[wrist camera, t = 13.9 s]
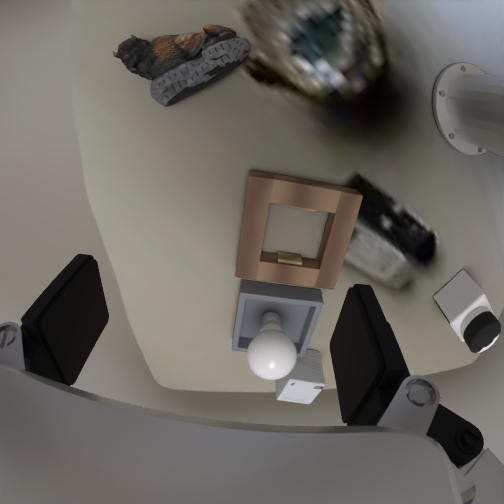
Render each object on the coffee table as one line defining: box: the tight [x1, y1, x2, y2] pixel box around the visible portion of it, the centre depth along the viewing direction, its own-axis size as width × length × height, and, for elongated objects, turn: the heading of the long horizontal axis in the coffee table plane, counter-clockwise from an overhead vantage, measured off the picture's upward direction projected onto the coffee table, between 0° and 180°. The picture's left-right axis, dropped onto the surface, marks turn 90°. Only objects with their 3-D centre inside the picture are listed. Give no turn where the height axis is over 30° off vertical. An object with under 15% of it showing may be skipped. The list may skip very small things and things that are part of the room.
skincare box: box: [276, 349, 325, 404], centre depth 46 cm, size 6×6×7 cm
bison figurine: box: [113, 25, 251, 106], centre depth 24 cm, size 12×7×10 cm
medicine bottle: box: [433, 270, 501, 353], centre depth 36 cm, size 7×7×12 cm
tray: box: [232, 280, 324, 358], centre depth 43 cm, size 11×11×3 cm
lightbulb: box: [246, 312, 297, 380], centre depth 38 cm, size 6×6×11 cm
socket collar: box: [235, 170, 363, 289], centre depth 36 cm, size 13×13×2 cm
